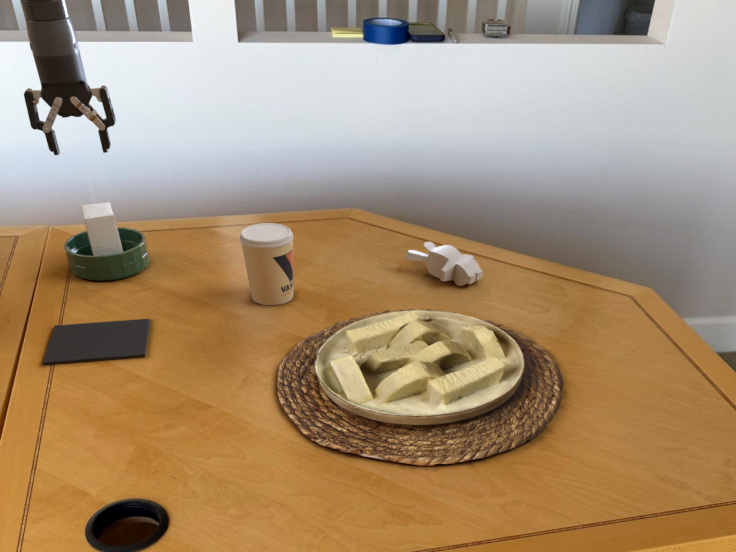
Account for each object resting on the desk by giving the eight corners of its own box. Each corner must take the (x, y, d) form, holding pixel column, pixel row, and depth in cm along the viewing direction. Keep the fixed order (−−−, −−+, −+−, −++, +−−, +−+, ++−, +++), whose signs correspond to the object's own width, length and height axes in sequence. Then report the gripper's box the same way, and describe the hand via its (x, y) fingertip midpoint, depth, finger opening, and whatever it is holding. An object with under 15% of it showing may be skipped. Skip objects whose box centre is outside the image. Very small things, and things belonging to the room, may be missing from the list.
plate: (576, 333, 134) (582, 296, 129) (539, 495, 102) (546, 455, 98) (331, 301, 143) (329, 266, 138) (228, 441, 111) (220, 402, 107)
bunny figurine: (463, 273, 143) (402, 243, 149) (459, 298, 146) (399, 268, 153) (493, 258, 148) (433, 229, 154) (488, 282, 152) (430, 254, 158)
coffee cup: (290, 309, 140) (284, 243, 132) (241, 305, 141) (232, 239, 133) (303, 287, 147) (298, 223, 139) (256, 284, 148) (248, 220, 140)
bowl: (66, 285, 147) (58, 259, 144) (76, 253, 158) (69, 229, 155) (148, 279, 149) (142, 254, 146) (152, 249, 161) (147, 224, 157)
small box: (127, 269, 152) (114, 214, 145) (97, 273, 150) (83, 218, 143) (122, 254, 157) (110, 201, 150) (94, 258, 156) (79, 204, 149)
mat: (43, 365, 125) (42, 362, 124) (55, 328, 134) (54, 325, 134) (145, 357, 127) (144, 354, 127) (149, 321, 137) (149, 318, 136)
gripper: (101, 44, 134) (123, 145, 145) (15, 46, 132) (43, 148, 143) (97, 52, 128) (120, 157, 139) (6, 55, 126) (37, 161, 137)
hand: (81, 152), depth 141 cm, fingers open, 8 cm apart
